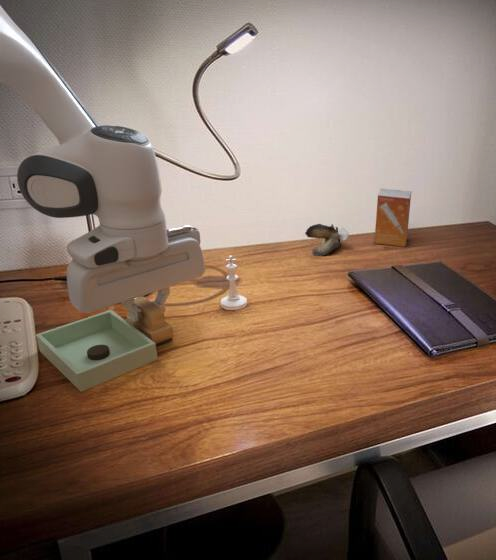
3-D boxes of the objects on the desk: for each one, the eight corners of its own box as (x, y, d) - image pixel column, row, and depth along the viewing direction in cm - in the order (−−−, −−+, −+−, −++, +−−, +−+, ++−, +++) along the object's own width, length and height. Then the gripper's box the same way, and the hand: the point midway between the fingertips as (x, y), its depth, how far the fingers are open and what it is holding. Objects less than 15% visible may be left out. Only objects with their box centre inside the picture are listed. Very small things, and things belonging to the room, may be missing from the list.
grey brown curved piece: (323, 234, 133) (298, 237, 126) (338, 215, 130) (314, 217, 122) (340, 257, 131) (316, 261, 124) (356, 238, 128) (332, 242, 120)
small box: (374, 244, 133) (377, 194, 127) (377, 235, 139) (379, 187, 133) (405, 247, 133) (410, 198, 127) (407, 238, 139) (411, 190, 133)
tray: (40, 355, 81) (35, 334, 80) (114, 328, 90) (111, 309, 88) (82, 396, 74) (76, 374, 72) (158, 363, 82) (155, 342, 80)
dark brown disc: (84, 355, 81) (83, 349, 81) (104, 347, 83) (103, 342, 83) (93, 363, 80) (92, 357, 79) (113, 355, 82) (112, 349, 81)
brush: (129, 333, 89) (123, 300, 86) (150, 326, 91) (144, 293, 88) (153, 353, 84) (148, 318, 82) (175, 344, 87) (170, 310, 84)
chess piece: (248, 308, 99) (246, 260, 95) (221, 311, 98) (217, 262, 93) (246, 296, 103) (243, 250, 99) (219, 299, 102) (215, 252, 97)
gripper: (187, 217, 89) (195, 289, 95) (53, 247, 74) (72, 331, 80) (209, 227, 86) (215, 301, 92) (73, 261, 71) (91, 347, 77)
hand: (148, 315), depth 86 cm, fingers closed on brush, 2 cm apart
